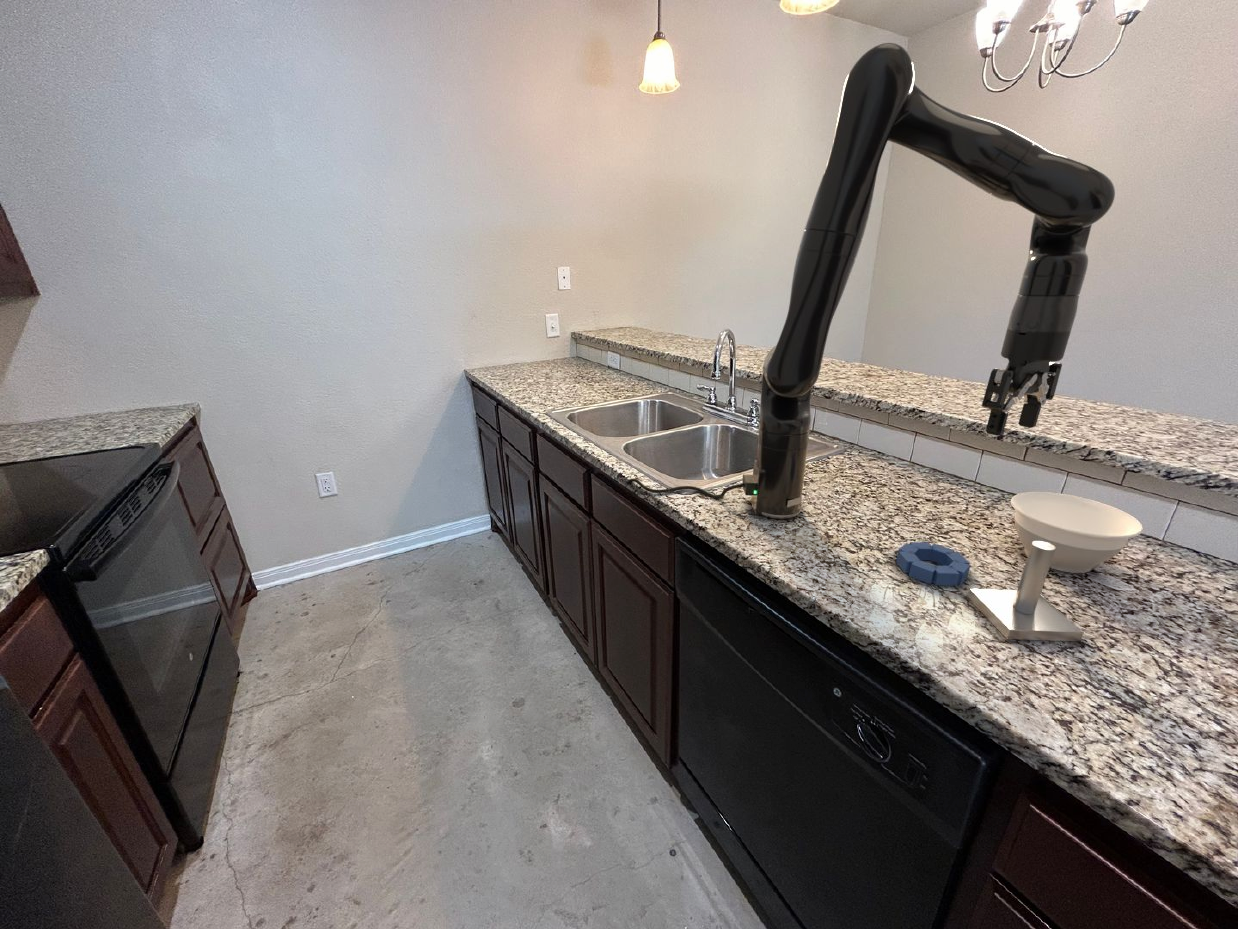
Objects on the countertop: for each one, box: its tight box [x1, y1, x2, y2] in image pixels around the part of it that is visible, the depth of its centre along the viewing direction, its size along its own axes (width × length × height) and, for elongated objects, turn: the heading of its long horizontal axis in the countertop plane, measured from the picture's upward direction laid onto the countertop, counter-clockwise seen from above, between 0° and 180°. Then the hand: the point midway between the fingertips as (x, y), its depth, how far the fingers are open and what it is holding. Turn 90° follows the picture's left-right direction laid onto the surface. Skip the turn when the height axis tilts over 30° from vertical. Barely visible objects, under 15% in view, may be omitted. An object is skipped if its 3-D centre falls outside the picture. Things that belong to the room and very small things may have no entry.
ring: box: [896, 541, 971, 587], centre depth 80 cm, size 9×9×2 cm
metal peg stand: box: [967, 541, 1085, 642], centre depth 67 cm, size 9×9×12 cm
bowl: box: [1010, 491, 1144, 574], centre depth 81 cm, size 16×16×9 cm
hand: (1010, 430), depth 80 cm, fingers open, 8 cm apart
